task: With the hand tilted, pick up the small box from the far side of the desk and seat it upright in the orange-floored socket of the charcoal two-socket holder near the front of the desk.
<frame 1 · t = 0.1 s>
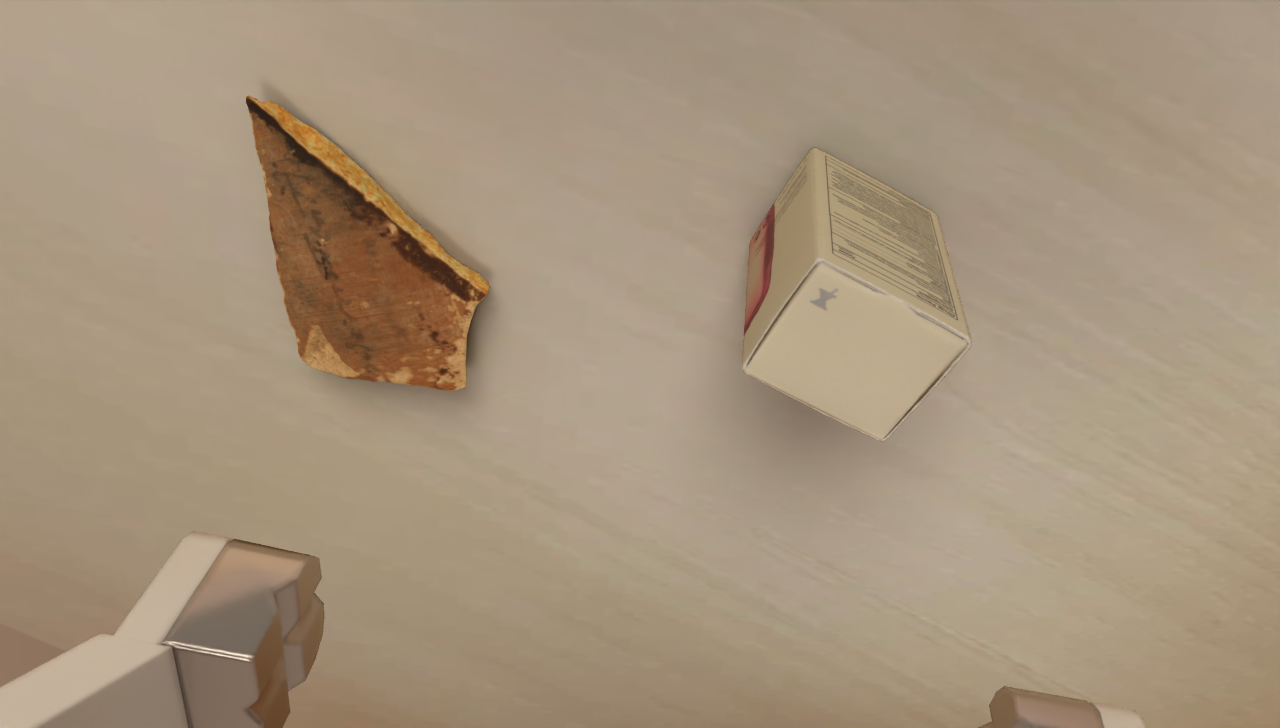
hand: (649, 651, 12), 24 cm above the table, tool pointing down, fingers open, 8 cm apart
small box: (842, 226, 35), on the table
shard: (349, 263, 38), on the table
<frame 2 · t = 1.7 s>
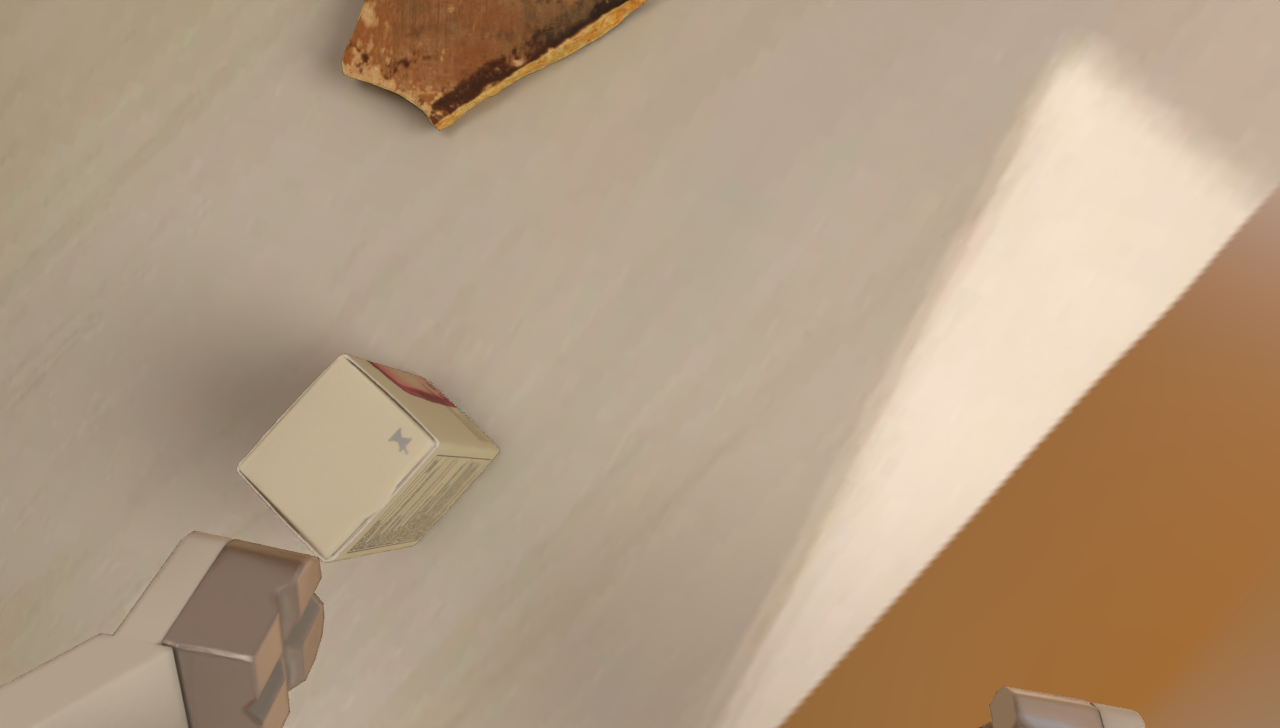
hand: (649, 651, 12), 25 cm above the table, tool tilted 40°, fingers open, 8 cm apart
small box: (419, 462, 38), on the table
shard: (486, 5, 40), on the table
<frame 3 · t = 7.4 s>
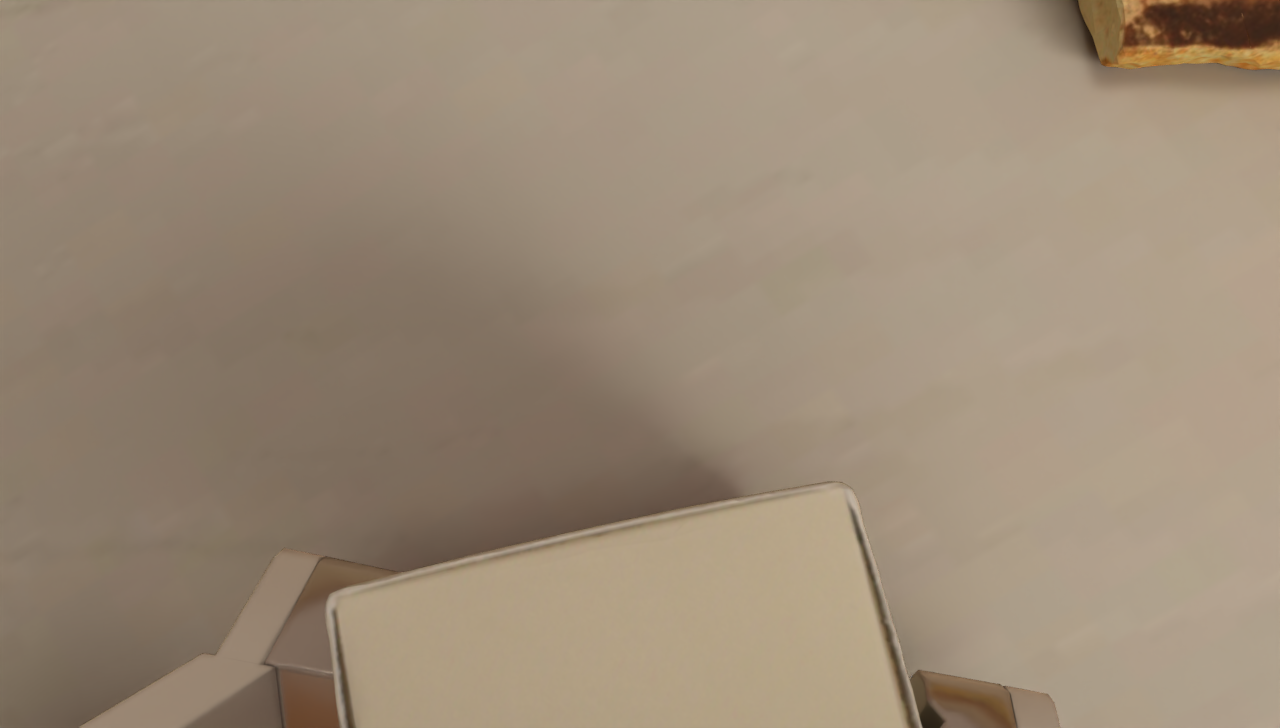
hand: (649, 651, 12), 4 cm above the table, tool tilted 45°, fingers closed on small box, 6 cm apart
small box: (640, 662, 17), on the table, touching gripper
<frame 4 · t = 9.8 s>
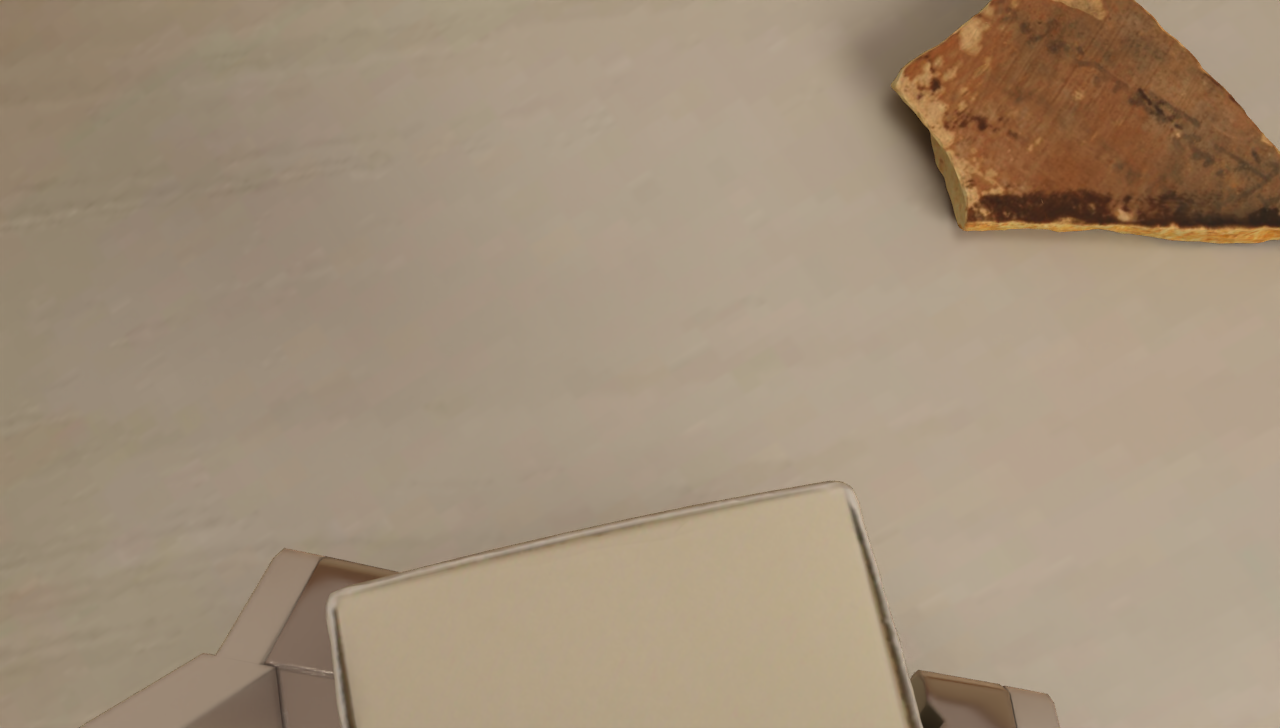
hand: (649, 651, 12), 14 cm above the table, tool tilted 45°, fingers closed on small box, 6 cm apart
small box: (640, 662, 17), point 9 cm above the table, touching gripper
shard: (1095, 111, 28), on the table
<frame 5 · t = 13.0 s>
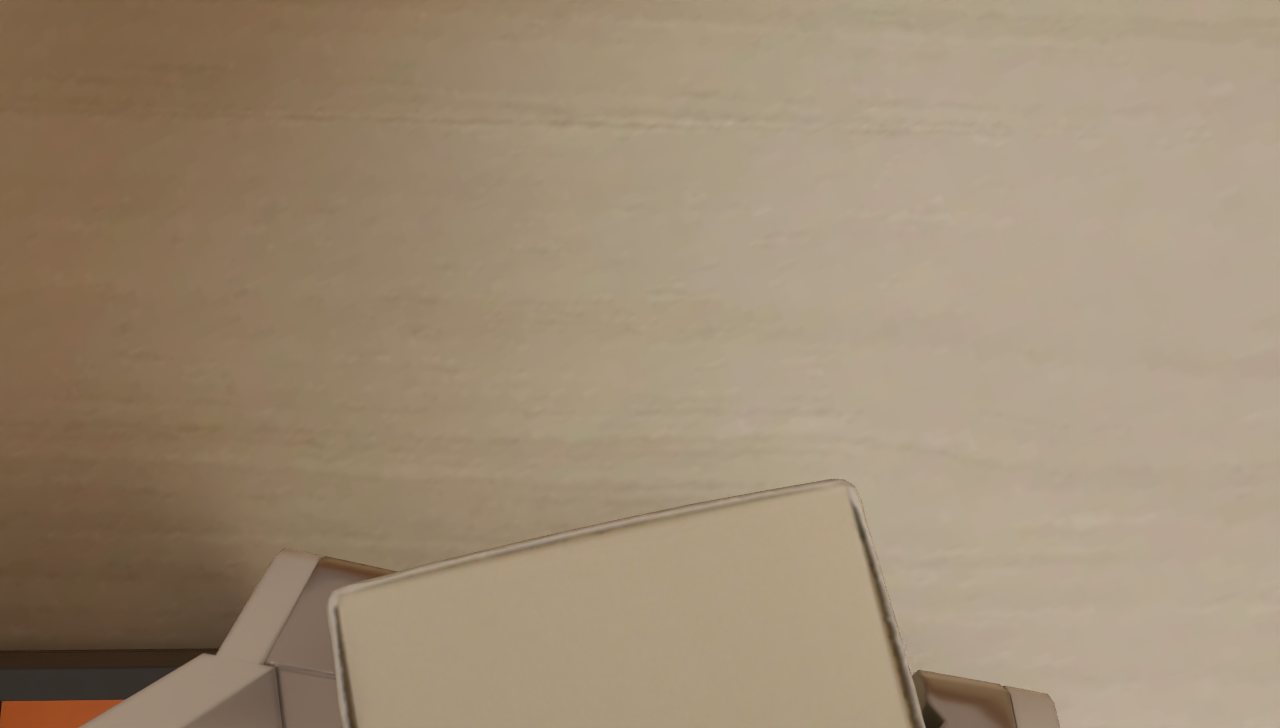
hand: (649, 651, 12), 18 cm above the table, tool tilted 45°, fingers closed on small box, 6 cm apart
small box: (641, 661, 17), point 13 cm above the table, touching gripper
when the fingers open (5 cm above the table, at t = 18.9 s): small box stays where it is, resting on holder.
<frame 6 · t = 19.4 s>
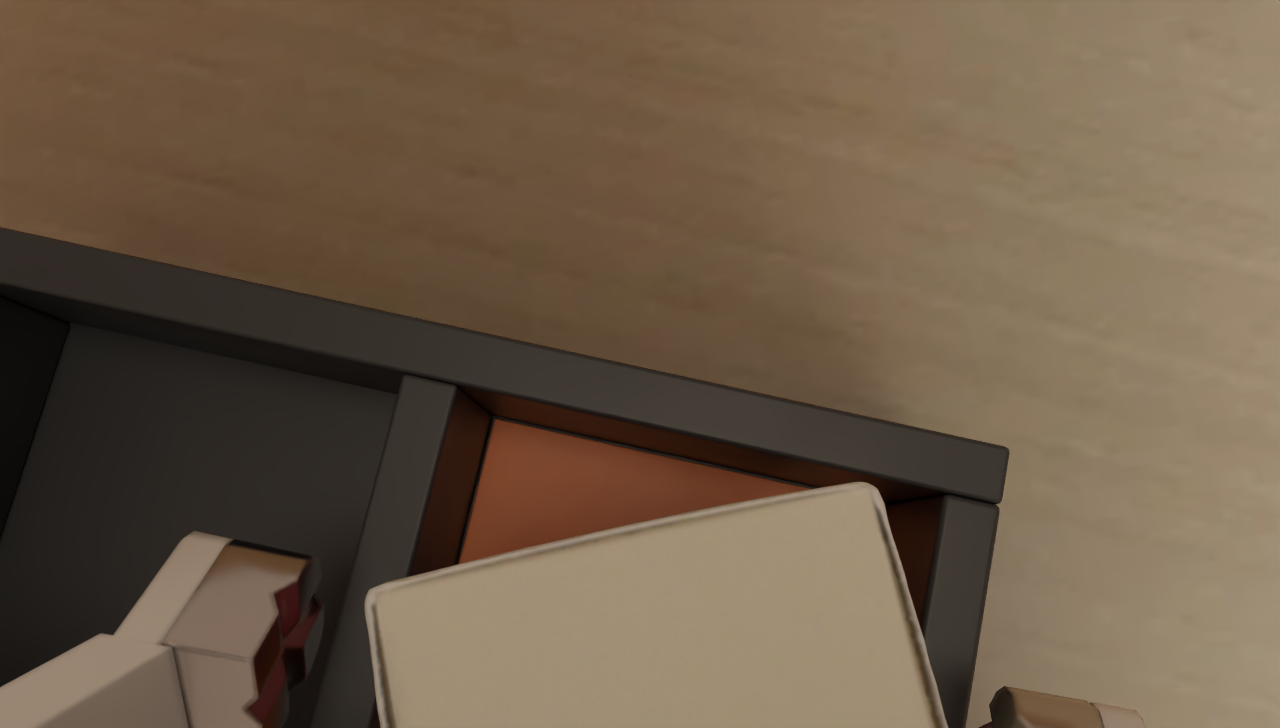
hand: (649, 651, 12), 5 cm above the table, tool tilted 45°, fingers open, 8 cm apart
small box: (657, 661, 17), point 1 cm above the table, touching holder
holder: (428, 607, 18), on the table
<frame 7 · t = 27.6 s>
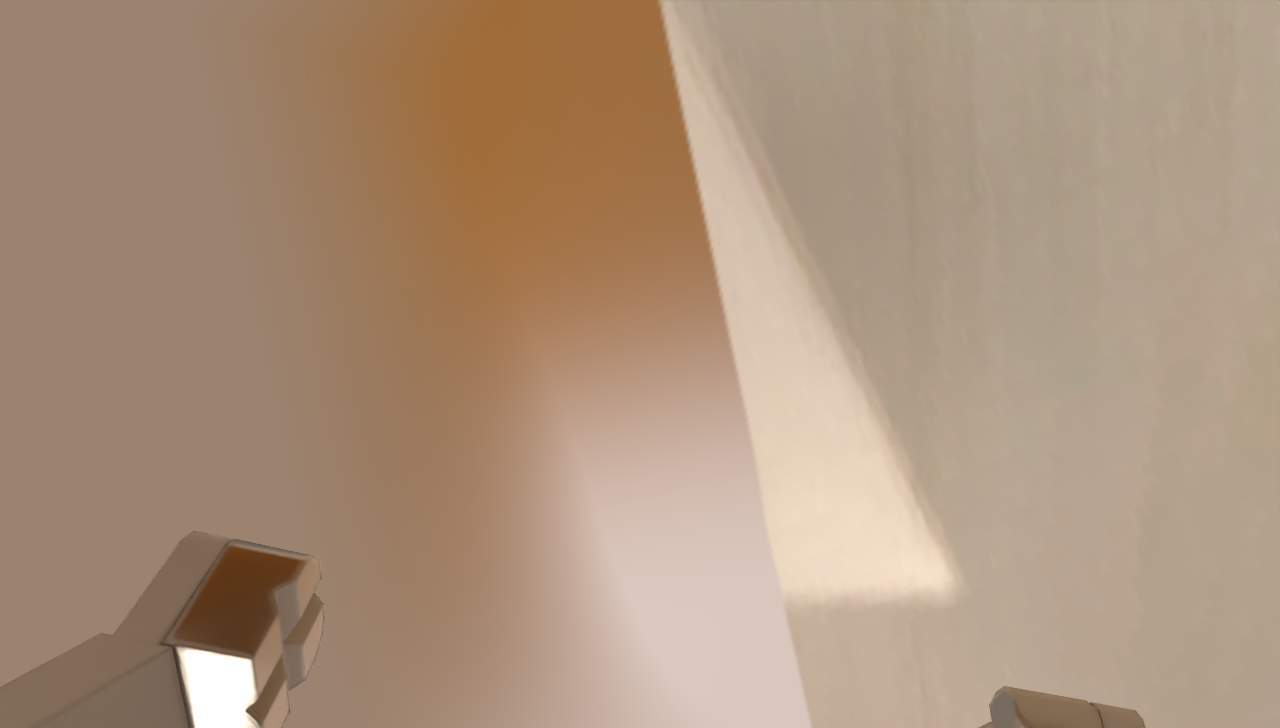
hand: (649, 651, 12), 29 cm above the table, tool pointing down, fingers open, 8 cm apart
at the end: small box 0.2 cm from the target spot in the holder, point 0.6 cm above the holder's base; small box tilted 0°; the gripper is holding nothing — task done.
